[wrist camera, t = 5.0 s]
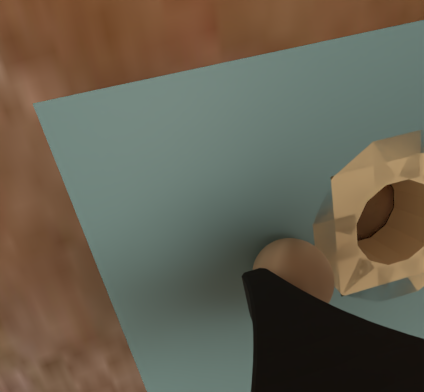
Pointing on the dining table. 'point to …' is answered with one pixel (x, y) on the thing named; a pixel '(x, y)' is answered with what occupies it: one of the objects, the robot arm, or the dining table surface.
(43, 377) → the dining table surface
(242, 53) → the dining table surface
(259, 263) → the maple ball
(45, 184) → the dining table surface
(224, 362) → the hole board
